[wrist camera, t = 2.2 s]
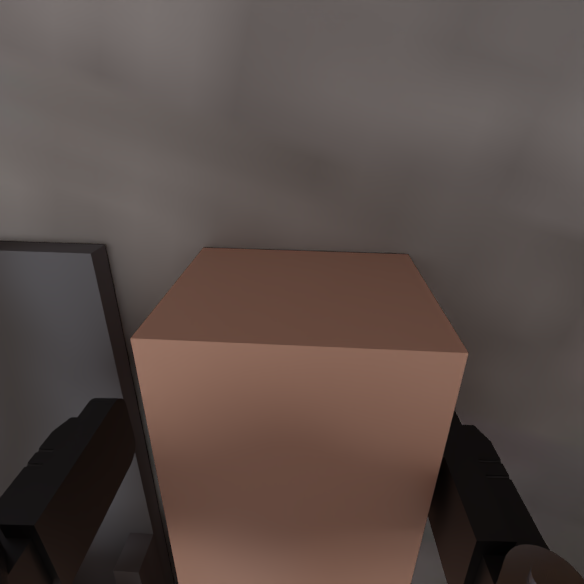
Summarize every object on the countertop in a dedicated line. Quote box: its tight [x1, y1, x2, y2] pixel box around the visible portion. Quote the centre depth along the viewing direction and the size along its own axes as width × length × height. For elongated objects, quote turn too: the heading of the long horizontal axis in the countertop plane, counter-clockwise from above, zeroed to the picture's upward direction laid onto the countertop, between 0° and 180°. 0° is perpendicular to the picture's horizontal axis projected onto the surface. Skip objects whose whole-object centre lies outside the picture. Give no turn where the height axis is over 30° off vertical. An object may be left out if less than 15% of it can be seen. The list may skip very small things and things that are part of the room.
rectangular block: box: [130, 248, 468, 584], centre depth 13 cm, size 6×18×5 cm, turn 179°
